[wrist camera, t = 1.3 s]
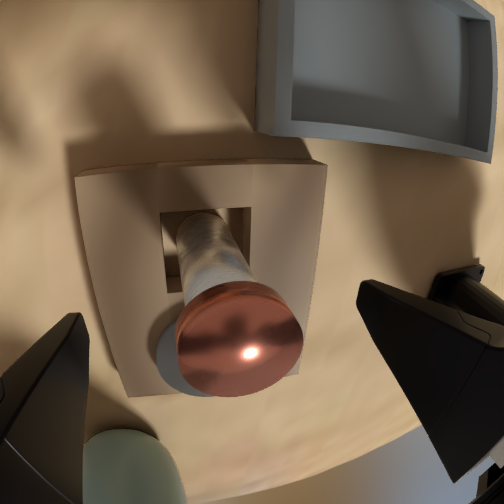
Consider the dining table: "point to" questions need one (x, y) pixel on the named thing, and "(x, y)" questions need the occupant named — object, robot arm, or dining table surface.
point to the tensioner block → (152, 253)
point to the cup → (129, 470)
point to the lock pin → (229, 316)
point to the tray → (379, 73)
